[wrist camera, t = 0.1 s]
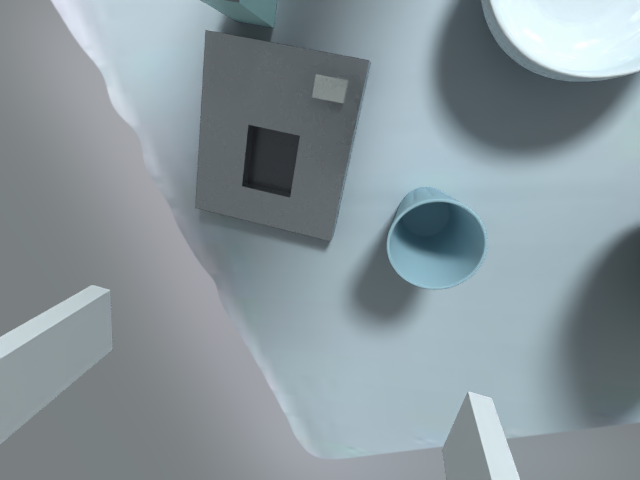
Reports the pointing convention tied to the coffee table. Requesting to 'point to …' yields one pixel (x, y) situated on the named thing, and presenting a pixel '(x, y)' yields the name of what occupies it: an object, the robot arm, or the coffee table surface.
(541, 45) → the cereal bowl
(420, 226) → the cup
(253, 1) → the plug
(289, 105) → the socket plate
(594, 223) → the coffee table surface
